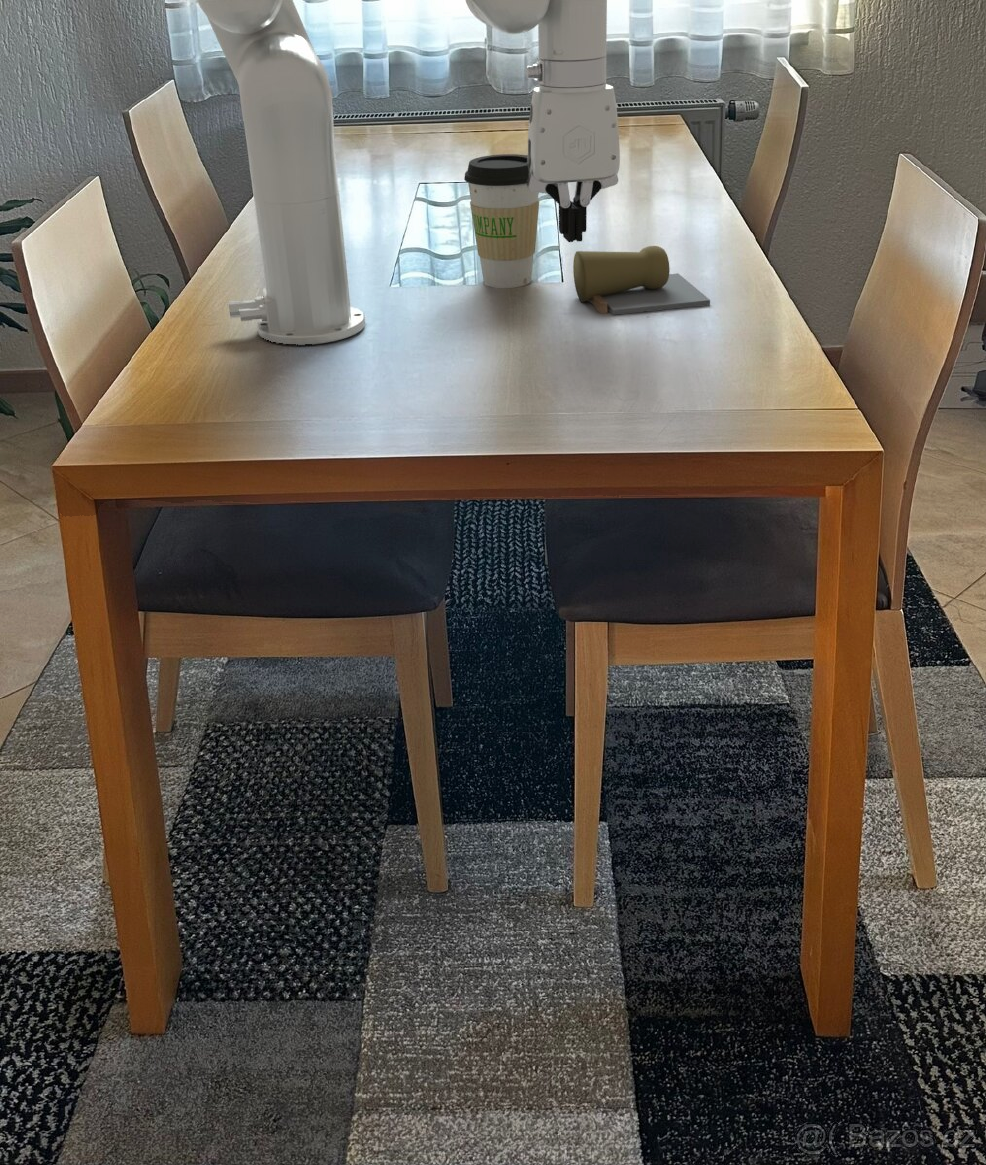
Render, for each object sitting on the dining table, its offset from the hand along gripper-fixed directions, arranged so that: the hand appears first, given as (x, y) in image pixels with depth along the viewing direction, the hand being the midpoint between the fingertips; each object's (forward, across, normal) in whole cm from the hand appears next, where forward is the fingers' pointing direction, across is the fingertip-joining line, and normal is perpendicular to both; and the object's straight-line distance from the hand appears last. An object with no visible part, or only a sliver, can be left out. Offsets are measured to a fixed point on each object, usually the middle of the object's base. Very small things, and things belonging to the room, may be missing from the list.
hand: (572, 238), depth 153 cm
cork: (+5, +1, +1) cm, 5 cm away
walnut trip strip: (+8, +3, 0) cm, 8 cm away
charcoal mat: (+8, +9, 0) cm, 12 cm away
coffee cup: (+8, -6, +12) cm, 16 cm away
